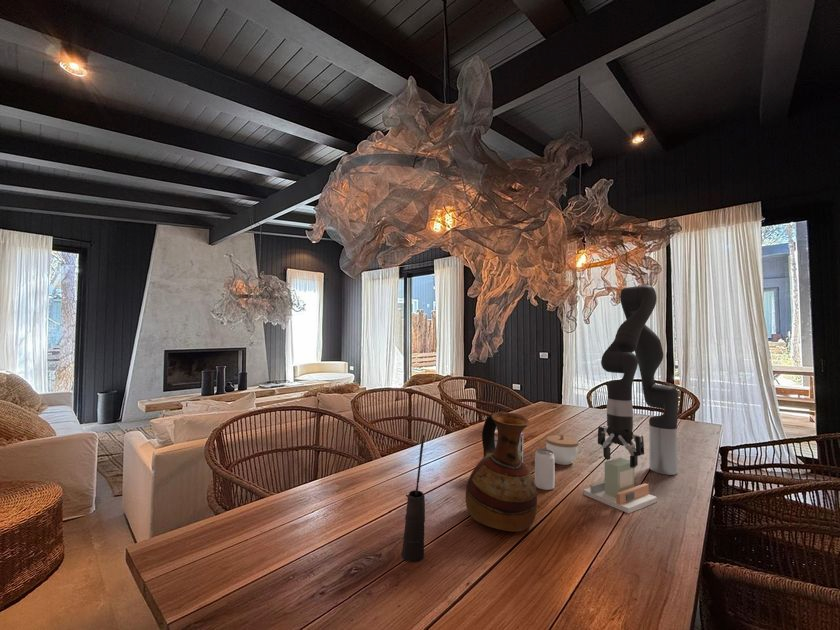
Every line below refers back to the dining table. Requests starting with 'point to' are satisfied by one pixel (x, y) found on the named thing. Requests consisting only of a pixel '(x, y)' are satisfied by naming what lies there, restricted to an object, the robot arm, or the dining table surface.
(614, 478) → the carton
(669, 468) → the robot arm
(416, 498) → the butter churn
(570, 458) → the lidded bowl
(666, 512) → the dining table surface
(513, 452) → the ceramic pitcher
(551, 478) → the can
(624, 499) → the shelf
